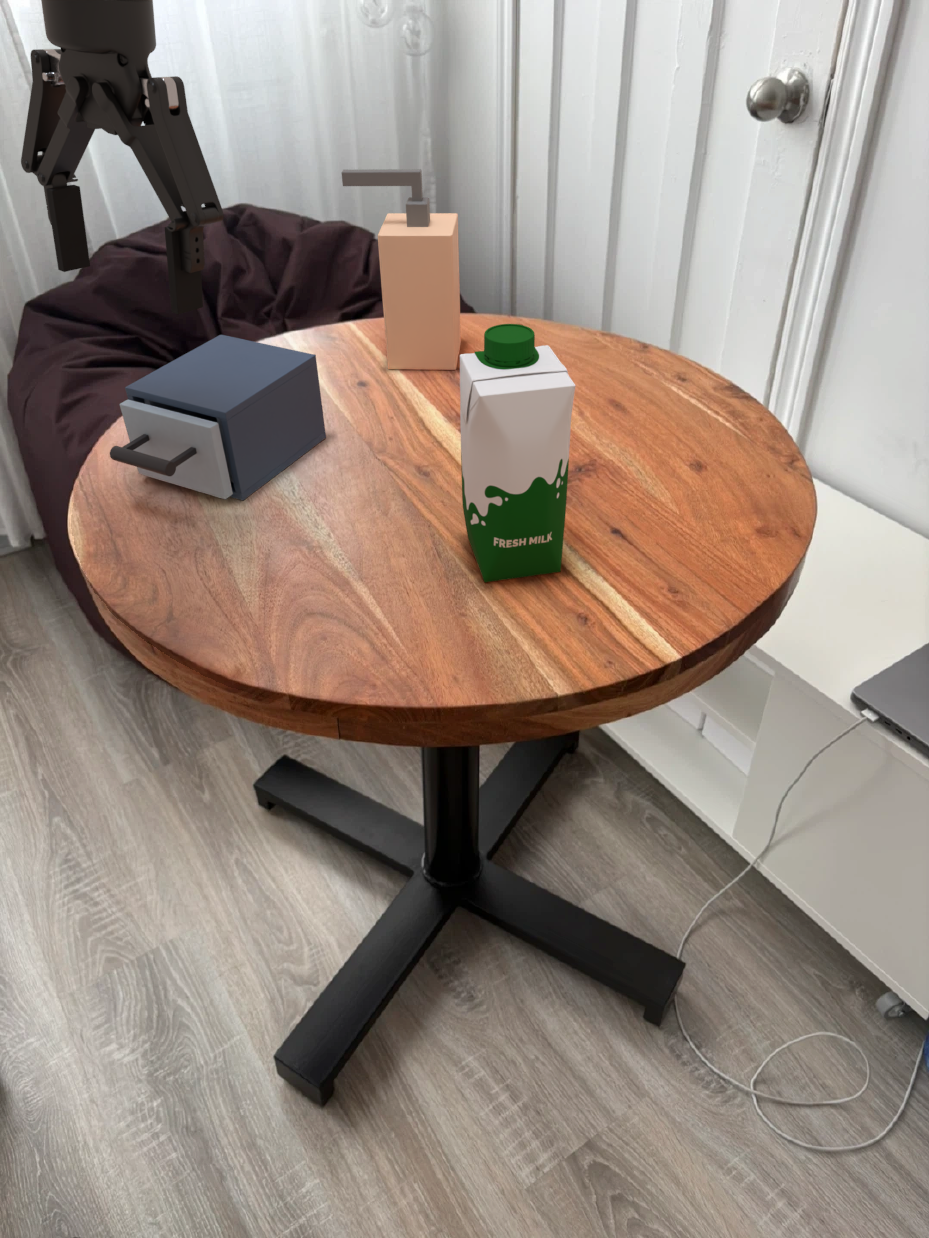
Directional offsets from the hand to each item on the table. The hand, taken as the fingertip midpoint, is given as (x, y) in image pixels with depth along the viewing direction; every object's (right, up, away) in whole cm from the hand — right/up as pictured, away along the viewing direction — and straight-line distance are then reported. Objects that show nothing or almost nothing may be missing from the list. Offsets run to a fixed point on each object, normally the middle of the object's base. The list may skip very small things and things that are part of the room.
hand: (129, 288), depth 78 cm
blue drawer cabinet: (+4, -10, +22) cm, 24 cm away
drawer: (+2, -12, +18) cm, 22 cm away
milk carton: (+33, -22, +6) cm, 40 cm away
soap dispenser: (+21, +6, +41) cm, 46 cm away
